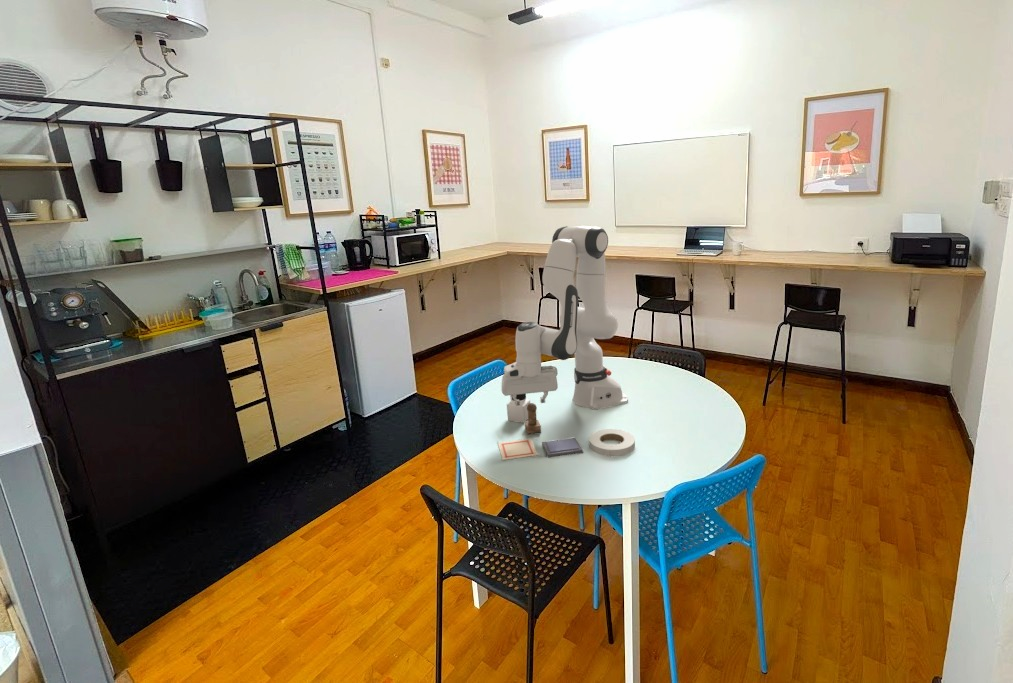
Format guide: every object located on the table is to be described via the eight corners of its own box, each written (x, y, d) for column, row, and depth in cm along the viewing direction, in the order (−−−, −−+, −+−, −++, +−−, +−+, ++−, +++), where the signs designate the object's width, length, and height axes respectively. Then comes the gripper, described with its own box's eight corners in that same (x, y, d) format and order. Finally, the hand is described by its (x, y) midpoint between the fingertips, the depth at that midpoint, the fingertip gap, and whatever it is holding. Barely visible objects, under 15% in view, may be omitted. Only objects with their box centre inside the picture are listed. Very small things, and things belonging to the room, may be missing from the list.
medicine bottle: (531, 415, 203) (529, 387, 199) (524, 423, 197) (522, 394, 193) (514, 413, 206) (513, 385, 202) (507, 420, 200) (505, 392, 196)
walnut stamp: (538, 427, 193) (536, 400, 190) (541, 433, 188) (539, 405, 185) (525, 428, 192) (523, 401, 189) (527, 434, 187) (525, 407, 184)
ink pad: (575, 440, 181) (575, 436, 180) (583, 453, 172) (582, 449, 172) (542, 445, 179) (542, 441, 179) (548, 457, 171) (547, 453, 170)
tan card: (530, 439, 184) (530, 438, 184) (537, 455, 173) (537, 454, 173) (497, 443, 183) (497, 442, 183) (502, 460, 171) (502, 459, 171)
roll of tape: (586, 436, 184) (586, 429, 183) (629, 434, 183) (629, 427, 182) (592, 458, 169) (592, 451, 168) (639, 456, 168) (639, 448, 168)
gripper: (555, 362, 187) (556, 397, 191) (499, 367, 184) (501, 403, 188) (559, 367, 181) (560, 404, 185) (502, 373, 178) (504, 409, 182)
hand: (530, 403), depth 186 cm, fingers open, 8 cm apart
